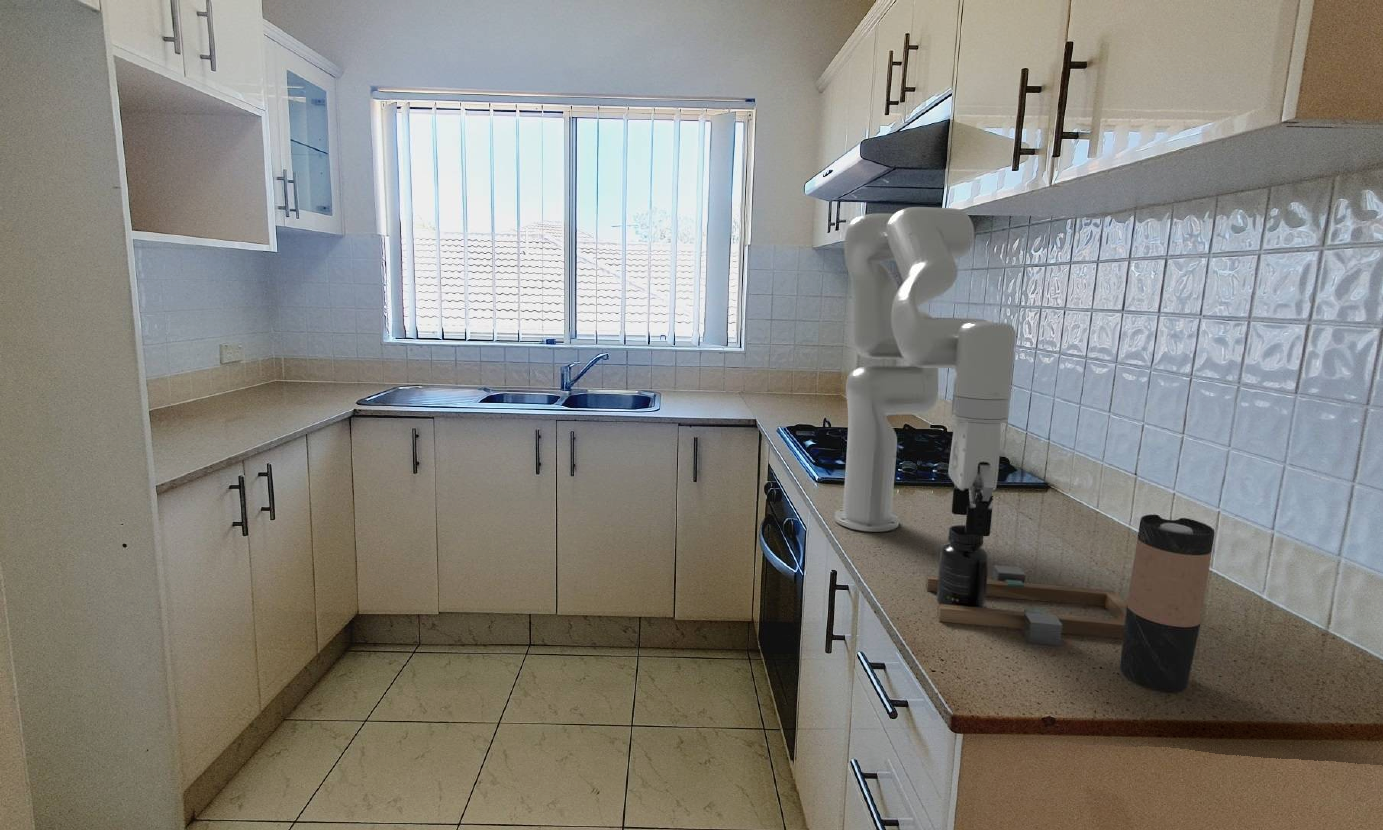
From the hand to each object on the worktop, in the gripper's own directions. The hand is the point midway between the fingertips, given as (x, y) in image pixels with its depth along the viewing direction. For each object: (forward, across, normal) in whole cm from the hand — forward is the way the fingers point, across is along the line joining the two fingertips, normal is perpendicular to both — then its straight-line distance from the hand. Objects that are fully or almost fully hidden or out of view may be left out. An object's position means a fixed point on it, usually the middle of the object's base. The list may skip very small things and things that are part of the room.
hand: (969, 524), depth 105 cm
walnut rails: (+13, -1, +9) cm, 16 cm away
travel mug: (+14, +15, +20) cm, 29 cm away
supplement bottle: (+13, -1, 0) cm, 13 cm away
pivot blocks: (+13, -1, +9) cm, 16 cm away
